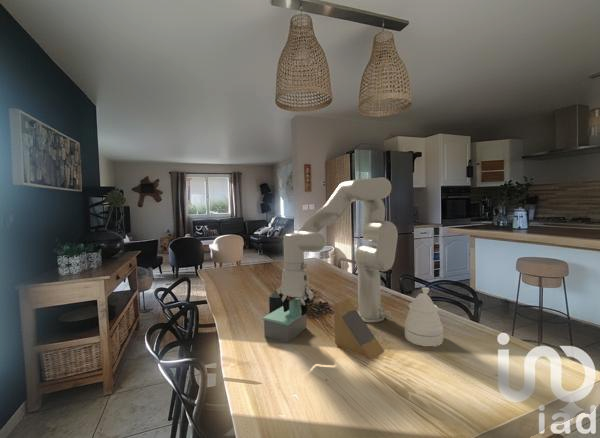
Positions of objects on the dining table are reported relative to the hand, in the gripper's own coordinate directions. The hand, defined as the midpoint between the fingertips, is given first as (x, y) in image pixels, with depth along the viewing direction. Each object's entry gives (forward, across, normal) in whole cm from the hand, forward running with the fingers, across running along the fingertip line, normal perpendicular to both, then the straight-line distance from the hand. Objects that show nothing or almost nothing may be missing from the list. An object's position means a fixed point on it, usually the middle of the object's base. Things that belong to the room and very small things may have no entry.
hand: (295, 312), depth 108 cm
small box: (+9, +16, -13) cm, 23 cm away
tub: (+9, +4, 0) cm, 10 cm away
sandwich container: (+9, -24, -2) cm, 26 cm away
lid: (+2, +4, 0) cm, 5 cm away
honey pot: (+9, -43, -20) cm, 48 cm away
